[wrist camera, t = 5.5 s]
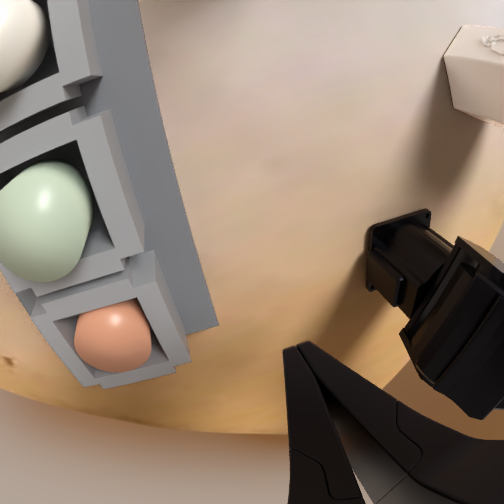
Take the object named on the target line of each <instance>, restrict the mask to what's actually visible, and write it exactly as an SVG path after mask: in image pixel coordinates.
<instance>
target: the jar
mask: <svg viewBox="0 0 504 504" xmlns="http://www.w3.org/2000/svg"><path fill="white" fill-rule="evenodd" d="M444 61H445V65H446V70H447V74H448V79H449V84H450V90H451V95H452V101H453V106H454V108H455V109H457V110H460V111H462V112H464V113H466V114H468V115H471V116H473V117H475V118H477V119H479V120H481V121H484V122H487V123H490V124H493V125H495V126H498V127H501V128H503V129H504V28H497V27H488V26H476V25H463V26H462V28H461V29H460V31H459V32H458V34H457V35H456V37H455V39H454V40H453V42H452V43H451V45H450V46H449V48H448V50H447V51H446V53H445V54H444Z"/></svg>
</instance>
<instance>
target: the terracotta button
mask: <svg viewBox="0 0 504 504" xmlns="http://www.w3.org/2000/svg"><path fill="white" fill-rule="evenodd" d="M74 346H75V349H76V351H77V353H78V355H79V356H80V357H81V358H82V359H83V360H84V361H85V362H86V363H88V364H89V365H91V366H93V367H95V368H97V369H100V370H103V371H108V372H126V371H130V370H134V369H136V368H138V367H140V366H141V365H143V364H144V363H145V362H146V361H147V359H148V358H149V356H150V354H151V336H150V323H149V321H148V319H147V317H146V315H145V313H144V311H143V308H142V306H141V304H140V302H139V300H138V298H137V297H136V298H133V299H130V300H126V301H123V302H119V303H116V304H112V305H109V306H105V307H102V308H98V309H94V310H91V311H87V312H84V313H80V314H78V320H77V325H76V331H75V337H74Z"/></svg>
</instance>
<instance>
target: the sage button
mask: <svg viewBox="0 0 504 504" xmlns="http://www.w3.org/2000/svg"><path fill="white" fill-rule="evenodd" d="M94 214H95V197H94V193H93V189H92V187H91V185H90V183H89V181H88V179H87V178H86V177H85V175H84V174H83V173H82V172H81V171H80V170H79V169H78V168H77V167H75V166H74V165H72V164H70V163H68V162H66V161H63V160H59V159H43V160H40V161H37V162H35V163H33V164H31V165H30V166H28V167H27V168H26V169H24V170H23V171H22V172H21V173H20V174H19V175H17V176H16V177H15V178H14V179H13V180H12V181H10V182H9V183H8V184H7V185H6V186H5V187H4V188H3V189H2V190H0V262H1V263H2V264H3V265H4V266H5V267H6V268H7V269H8V270H10V271H11V272H12V273H14V274H15V275H17V276H19V277H21V278H23V279H26V280H29V281H34V282H50V281H54V280H57V279H60V278H62V277H64V276H65V275H67V274H68V273H69V272H70V271H71V270H72V269H73V268H74V267H75V266H76V264H77V263H78V261H79V259H80V257H81V254H82V251H83V248H84V245H85V242H86V239H87V236H88V233H89V230H90V227H91V224H92V221H93V219H94Z"/></svg>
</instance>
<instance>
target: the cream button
mask: <svg viewBox="0 0 504 504" xmlns="http://www.w3.org/2000/svg"><path fill="white" fill-rule="evenodd" d="M50 35H51V27H50V21H49V18H48V15H47V13H46V12H45V10H44V9H43V8H42V7H41V6H40V5H39V4H37V3H35V2H34V1H32V0H0V93H6V92H9V91H11V90H14V89H16V88H17V87H19V86H21V85H22V84H23V83H25V82H26V81H27V80H28V79H29V78H30V77H31V76H32V75H33V74H34V73H35V71H36V70H37V69H38V67H39V66H40V64H41V63H42V61H43V59H44V57H45V55H46V52H47V49H48V46H49V42H50Z"/></svg>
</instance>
